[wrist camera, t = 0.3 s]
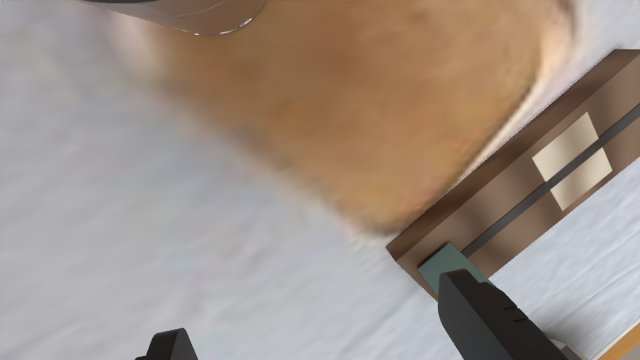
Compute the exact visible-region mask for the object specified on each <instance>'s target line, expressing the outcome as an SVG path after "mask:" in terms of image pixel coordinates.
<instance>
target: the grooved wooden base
mask: <svg viewBox="0 0 640 360" xmlns="http://www.w3.org/2000/svg"><path fill="white" fill-rule="evenodd" d="M638 157H640V49H615V50H614V51H613V52H612V53H610V54H609V55H608V56H607V57H606V58H605V59H603V60H602V61H601V62H600V63H599V64H598V65H596V66H595V67H594V68H593V69H592V70H591V71H589V72H588V73H587V74H586V75H585V76H584V77H582V78H581V79H580V80H579V81H578V82H577V83H576V84H574V85H573V86H572V87H571V88H570V89H569V90H567V91H566V92H565V93H564V94H563V95H562V96H560V97H559V98H558V99H557V100H556V101H555V102H553V103H552V104H551V105H550V106H549V107H548V108H546V109H545V110H544V111H543V112H542V113H541V114H540V115H538V116H537V117H536V118H535V119H534V120H533V121H531V122H530V123H529V124H528V125H527V126H526V127H524V128H523V129H522V130H521V131H520V132H519V133H517V134H516V135H515V136H514V137H513V138H512V139H510V140H509V141H508V142H507V143H506V144H505V145H504V146H502V147H501V148H500V149H499V150H498V151H497V152H495V153H494V154H493V155H492V156H491V157H490V158H488V159H487V160H486V161H485V162H484V163H483V164H481V165H480V166H479V167H478V168H477V169H476V170H474V171H473V172H472V173H471V174H470V175H469V176H468V177H466V178H465V179H464V180H463V181H462V182H461V183H459V184H458V185H457V186H456V187H455V188H454V189H452V190H451V191H450V192H449V193H448V194H447V195H445V196H444V197H443V198H442V199H441V200H440V201H438V202H437V203H436V204H435V205H434V206H433V207H432V208H430V209H429V210H428V211H427V212H426V213H425V214H423V215H422V216H421V217H420V218H419V219H418V220H416V221H415V222H414V223H413V224H412V225H411V226H409V227H408V228H407V229H406V230H405V231H404V232H402V233H401V234H400V235H399V236H398V237H397V238H396V239H394V240H393V241H392V242H391V243H390V244H389V245H387V246H386V248H387V250H388V251H389V253H390V254H391V256H392V257H393V258H394V260H395V261H396V263H398V264H399V265H400V266H401V267H402V268H403V269H404V270H405V271H406V272H407V273H408V274H409V275H410V276H411V277H412V278H413V279H414V280H415V281H416V282H417V283H418V284H419V285H421V286H422V287H423V288H424V289H425V290H426V291H427V292H428V293H429V294H430V295H431V296H432V297H433V298H434V299H435V300H436V301H437V302H438V296H437V294H436V293H435V292H434V290H433V289H432V288H431V287H430V285H429V284H428V283H427V281H426V280H425V279H424V277H423V276H422V275H421V273H420V272H419V271H418V269H419V268H420V267H421V266H422V265H423V264H424V263H426V262H427V261H428V260H429V259H430V258H432V257H433V256H434V255H435V254H436V253H438V252H439V251H440V250H441V249H442V248H444V247H445V246H446V245H447V244H448V243H451V244H452V245H453V246H454V247H455V248H456V249H457V250H458V251H459V252H460V253H462V254H463V255H464V256H465V257H466V258H467V259H468V260H469V261H470V262H471V263H472V264H473V265H474V266H475V267H476V268H477V269H478V270H479V271H480V272H481V273H482V274H483V275H484V276H485V277H486V278H487V279H488V278H489V277H491V276H492V275H493V274H494V273H495V272H497V271H498V270H499V269H500V268H502V267H503V266H504V265H505V264H507V263H508V262H509V261H510V260H512V259H513V258H514V257H515V256H517V255H518V254H519V253H520V252H522V251H523V250H524V249H525V248H527V247H528V246H529V245H530V244H531V243H533V242H534V241H535V240H536V239H538V238H539V237H540V236H541V235H543V234H544V233H545V232H546V231H548V230H549V229H550V228H551V227H553V226H554V225H555V224H556V223H558V222H559V221H560V220H561V219H563V218H564V217H565V216H566V215H567V214H569V213H570V212H571V211H572V210H574V209H575V208H576V207H577V206H579V205H580V204H581V203H582V202H584V201H585V200H586V199H587V198H589V197H590V196H591V195H592V194H594V193H595V192H596V191H597V190H599V189H600V188H601V187H602V186H604V185H605V184H606V183H607V182H608V181H610V180H611V179H612V178H613V177H615V176H616V175H617V174H618V173H620V172H621V171H622V170H623V169H625V168H626V167H627V166H628V165H630V164H631V163H632V162H633V161H635V160H636V159H637V158H638Z"/></svg>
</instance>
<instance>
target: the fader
mask: <svg viewBox="0 0 640 360" xmlns="http://www.w3.org/2000/svg"><path fill="white" fill-rule="evenodd" d="M463 268H464V269H467V270H468V271H469V272H470V273H471V274H472V275H473V277H474V278H475V279H476V280H477V281H478V282H479V283H481V282H488V283H490V284H491V285H493V286H495V285H494V284H493V283H492V282H490V281H489V280H488V279H487V278H486V277H485V276H484V275H483V274H482V273H481V272H480V271H479V270H478V269H477V268H476V267H475V266H474V265H473V264H472V263H471V262H470V261H469V260H468V259H467V258H466V257H465V256H464V255H463V254H462V253H460V252H459V251H458V250H457V249H456V248H455V247H454V246H453V245H452V244H451V243H448V244H447V245H446V246H445V247H444V248H442V249H441V250H440V251H439V252H438V253H436V254H435V255H434V256H433V257H432V258H430V259H429V260H428V261H427V262H426V263H424V264H423V265H422V266H421V267H420V268H419V269H418V271H419V272H420V273H421V275H422V276H423V277H424V279H425V280H426V281H427V283H428V284H429V285H430V287H431V288H432V289H433V290H434V292H435V293H436V294H437V296H438V294H439V276H440V274H441V273H444V272H449V271H453V270H458V269H463ZM495 287H496V286H495ZM496 288H497V287H496ZM528 319H529V318H528ZM529 321H530V319H529ZM544 335H545V334H544ZM545 336H546V335H545ZM546 337H547V336H546ZM547 338H548V337H547ZM548 339H549V340H550V341H551V342H552V343H553V344H554V345H555V346H556V347H557V348H558V349H559V350H560V351H561V352H562V353H563V354H564V355H565V356H566V357H567V358H568V360H582V359H581V358H580V357H579V356H578V355H577V354H576V353H575V352H574V351H572V350H571V349H570V348H569V347H568V346H567V345H566V346H565V347H563V348H562V349H560V348H559V347H558V346H557V345H556V344H555V343H554V342H553V341H552V340H551V339H550V338H548Z"/></svg>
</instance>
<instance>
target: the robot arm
mask: <svg viewBox="0 0 640 360" xmlns="http://www.w3.org/2000/svg"><path fill="white" fill-rule="evenodd" d="M76 1H79V2H83V3H86V4H90V5H94V6H97V7H101V8H105V9H109V10H112V11H116V12H119V13H123V14H126V15H130V16H134V17H137V18H141V19H144V20H148V21H151V22H155V23H158V24H162V25H165V26H169V27H172V28H176V29H179V30H183V31H186V32H187V33H191V34H195V35H203V36H204V35H205V36H215V35H225V34H228V33H231V32H233V31H236V30H239V29H240V28H242V27H243V26H245V25H246V24H248V23H249V22H250V21H251V20H252V19H253V18H254V17H255V16H256V15H257V14H258V13H259V12H260V10H261V8H262V7H263V5H264V3H265V2H266V0H76ZM438 313H439V317H440V320H441V323H442V325H443V327H444V329H445V330H446V332H447V333H448V335H449V337H450V338H451V340H452V341H453V343H454V345H455V346H456V348H457V349H458V351H459V352H460V354H461V356H462V357H463V359H464V360H568V358H567V357H566V356H565V355H564V354H563V353H562V352H561V351H560V350H559V349H558V348H557V347H556V346H555V345H554V344H553V343H552V342H551V341H550V340H549V339H548V338H547V337H546V336H545V335H544V333H543V332H542V331H541V330H540V329H539V328H538V327H537V326H536V325H535V324H534V323H533V322H532V321H531V320H530V321H529V319H528V317H527V316H526V315H525V314H524V313H523V312H522V311H521V310H520V309H518V308H517V305H516V304H515V303H514V302H513V301H512V300H511V299H510V298H509V297H508V296H507V295H506V294H505V293H504V292H503V291H501V290H500V289H498V288H496V287H495V286H493V285H491V284H490V283H488V282H481V283H479V282H478V281H477V280H476V279H475V278H474V277H473V275H472V274H471V273H470V272H469V271H468V270H467V269H464V268H463V269H458V270H453V271H449V272H444V273H441V274H440V276H439V294H438ZM135 360H198V358H197V356H196V353H195V351H194V349H193V346H192V344H191V341H190V339H189V337H188V334H187V332H186V330H185V329H184V328H180V329H175V330H170V331H166V332H161V333H157V334H155V335H154V337H153V338H152V341H151V343H150V346H149V349H148V351H147V354H146V356H142V357H137V358H136V359H135Z"/></svg>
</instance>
